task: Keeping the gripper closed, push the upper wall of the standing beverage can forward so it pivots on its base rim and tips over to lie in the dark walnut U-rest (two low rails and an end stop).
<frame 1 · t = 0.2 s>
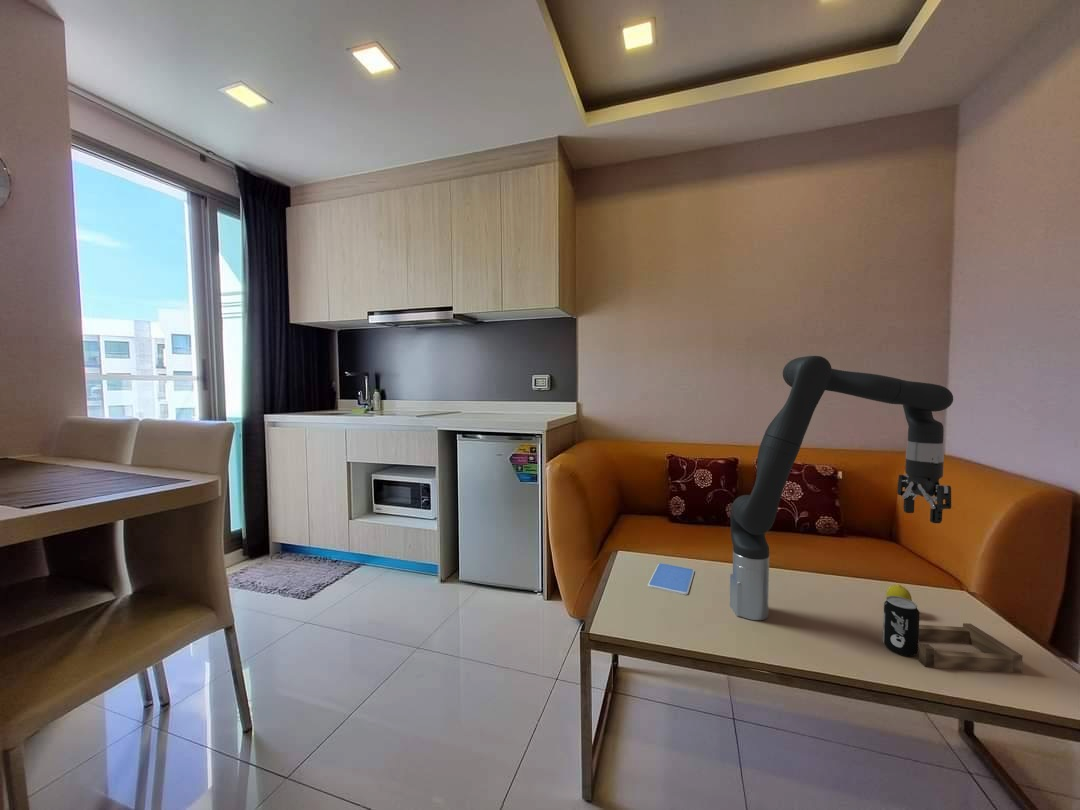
hand: (921, 517, 113), 29 cm above the table, fingers open, 8 cm apart
cradle: (944, 651, 101), on the table
tablet computer: (672, 580, 140), on the table
beverage can: (899, 650, 102), on the table
lemon: (898, 612, 118), on the table
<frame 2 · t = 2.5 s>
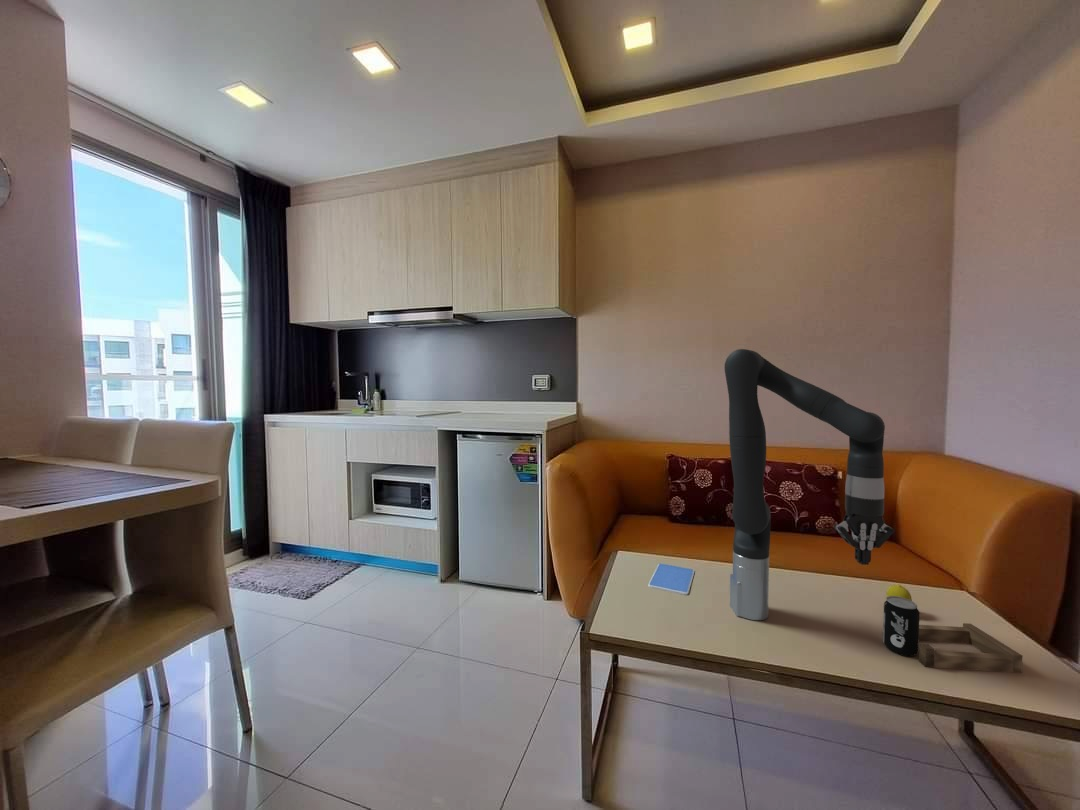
hand: (862, 563, 102), 21 cm above the table, fingers closed
nothing on the table moved.
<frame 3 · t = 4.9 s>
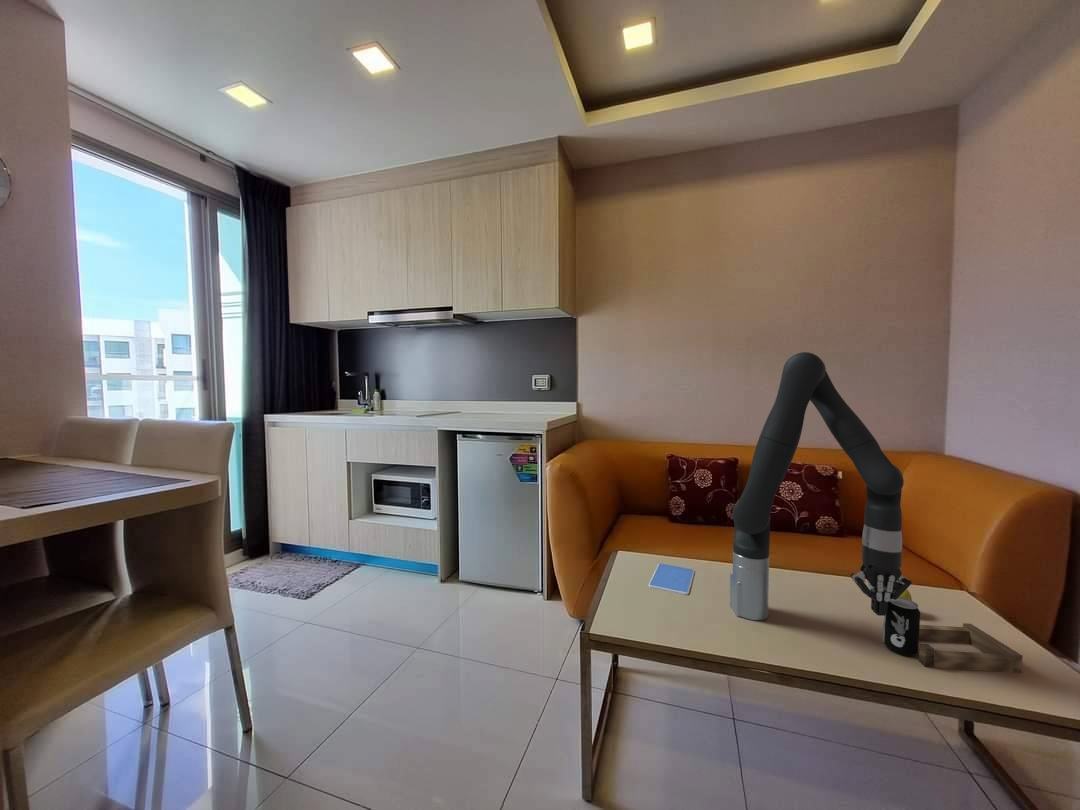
hand: (879, 613, 102), 9 cm above the table, fingers closed
beverage can: (899, 650, 102), on the table, touching gripper
everything else where it was.
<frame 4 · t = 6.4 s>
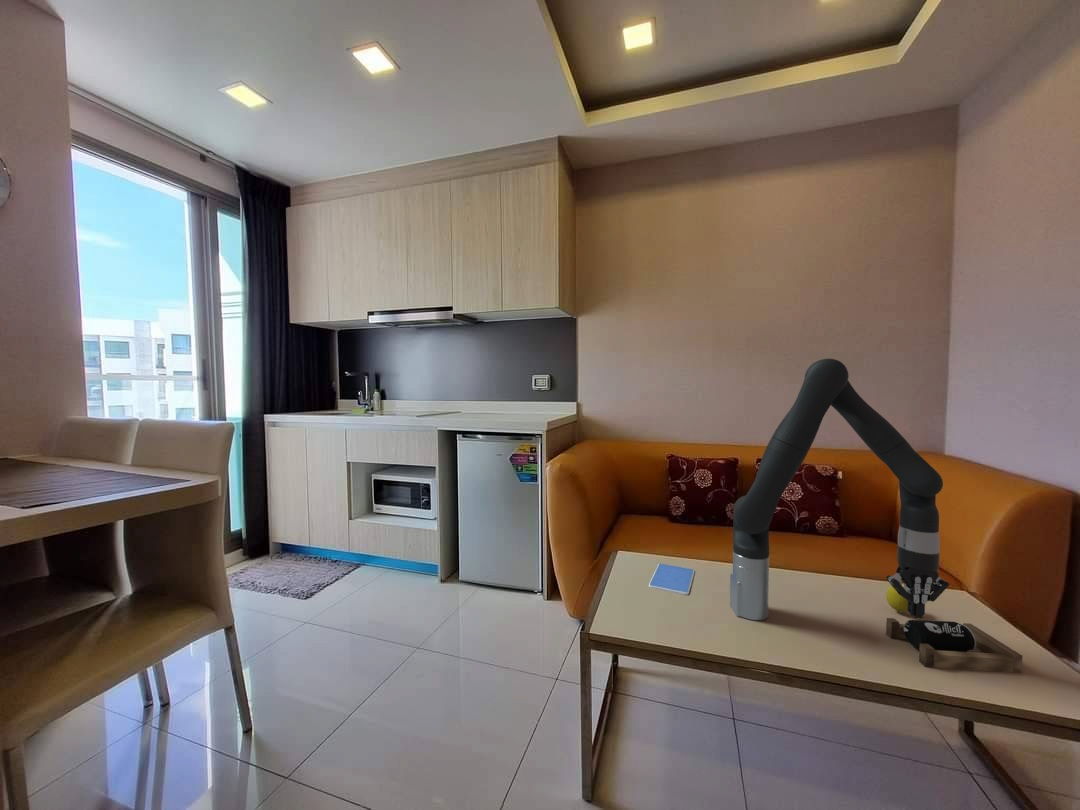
hand: (915, 616, 101), 9 cm above the table, fingers closed
beverage can: (911, 634, 102), point 3 cm above the table, touching cradle
everything else where it was.
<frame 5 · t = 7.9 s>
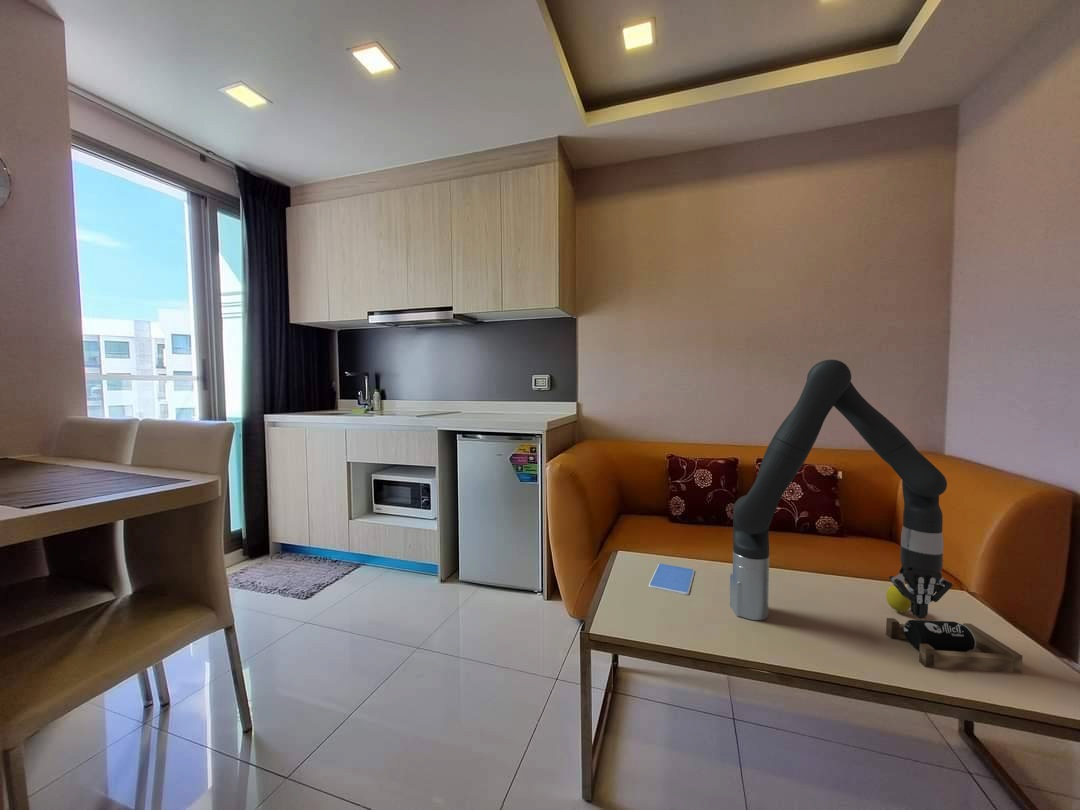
hand: (918, 616, 101), 8 cm above the table, fingers closed
nothing on the table moved.
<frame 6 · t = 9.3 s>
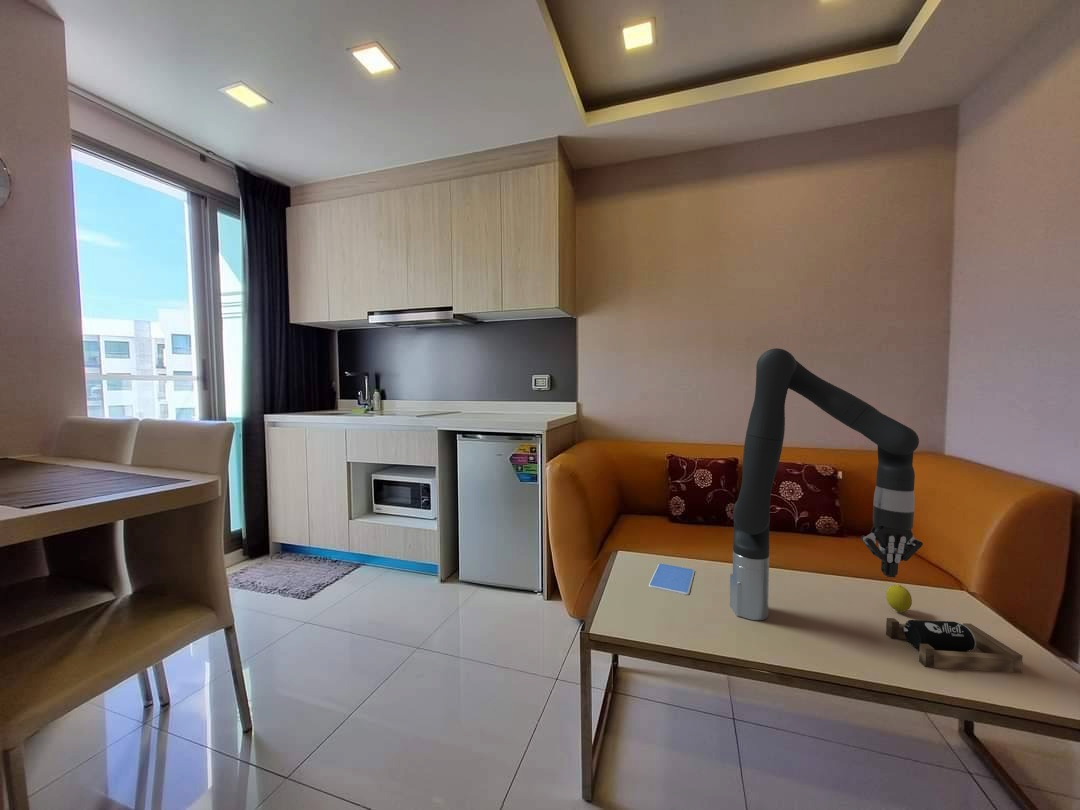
hand: (889, 575, 101), 18 cm above the table, fingers closed
nothing on the table moved.
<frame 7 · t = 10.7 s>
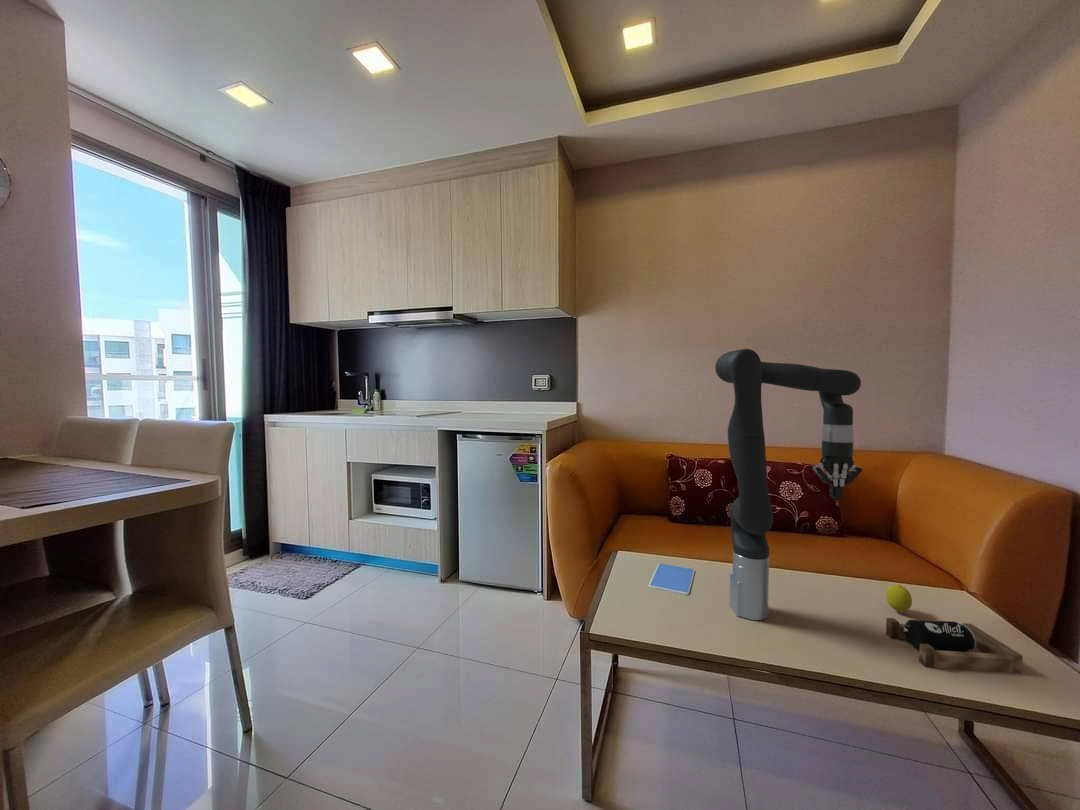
hand: (836, 498, 121), 32 cm above the table, fingers closed
nothing on the table moved.
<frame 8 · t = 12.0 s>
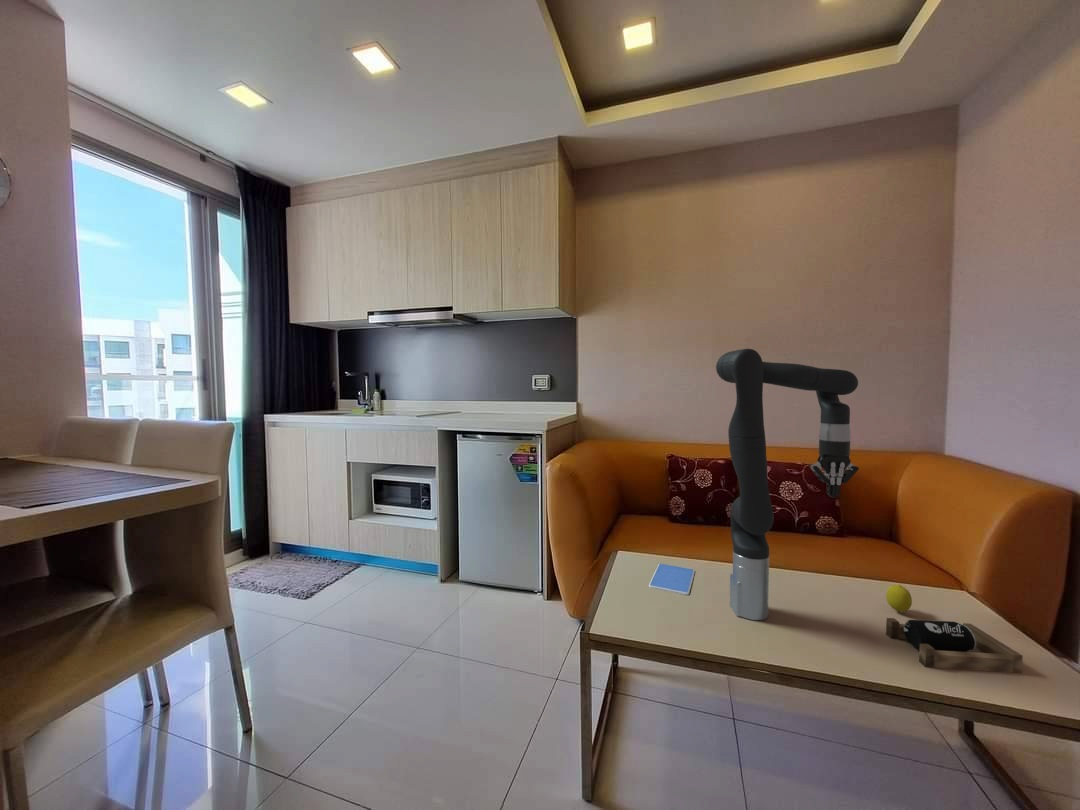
hand: (833, 496, 123), 32 cm above the table, fingers closed
nothing on the table moved.
at the end: beverage can tilted 90°; beverage can inside the target area on the cradle (4.9 cm from its centre), point 3.3 cm above the cradle's base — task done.
